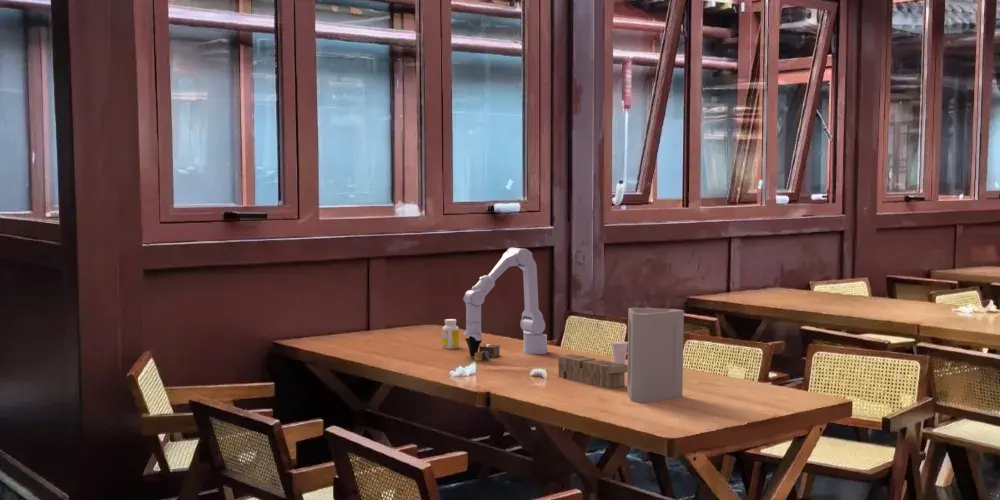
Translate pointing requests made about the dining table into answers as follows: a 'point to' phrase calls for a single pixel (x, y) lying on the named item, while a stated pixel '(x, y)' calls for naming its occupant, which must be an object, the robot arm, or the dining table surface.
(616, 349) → the smoothie
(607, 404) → the dining table surface
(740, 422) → the dining table surface
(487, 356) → the dowel
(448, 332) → the supplement bottle
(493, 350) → the knob-topped wooden stand
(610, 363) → the block tower
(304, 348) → the dining table surface
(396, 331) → the dining table surface
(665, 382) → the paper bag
